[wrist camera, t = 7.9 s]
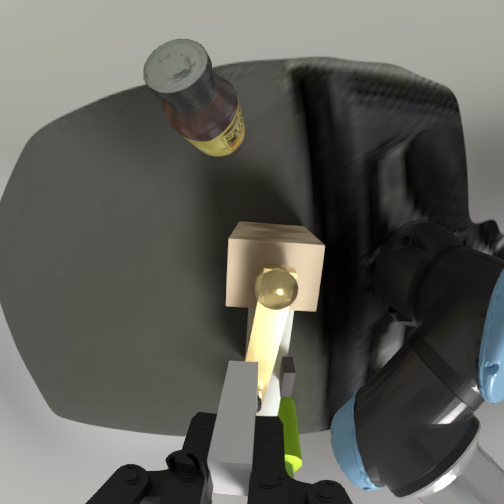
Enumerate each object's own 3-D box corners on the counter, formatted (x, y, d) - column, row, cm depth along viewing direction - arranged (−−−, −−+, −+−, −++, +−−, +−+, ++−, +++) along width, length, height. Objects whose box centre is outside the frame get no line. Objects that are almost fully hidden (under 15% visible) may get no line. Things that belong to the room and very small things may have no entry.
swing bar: (259, 260, 22) (259, 272, 19) (299, 267, 22) (306, 280, 19) (233, 389, 25) (230, 411, 21) (266, 394, 25) (266, 416, 21)
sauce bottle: (245, 158, 33) (227, 118, 14) (195, 159, 33) (120, 128, 14) (246, 108, 31) (230, 22, 12) (196, 109, 32) (132, 36, 12)
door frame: (303, 226, 35) (332, 252, 20) (286, 361, 39) (296, 434, 25) (239, 221, 35) (224, 244, 20) (232, 358, 39) (221, 431, 25)
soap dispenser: (261, 386, 40) (261, 493, 21) (300, 397, 41) (316, 499, 21) (247, 408, 41) (240, 509, 22) (284, 418, 42) (291, 515, 22)
